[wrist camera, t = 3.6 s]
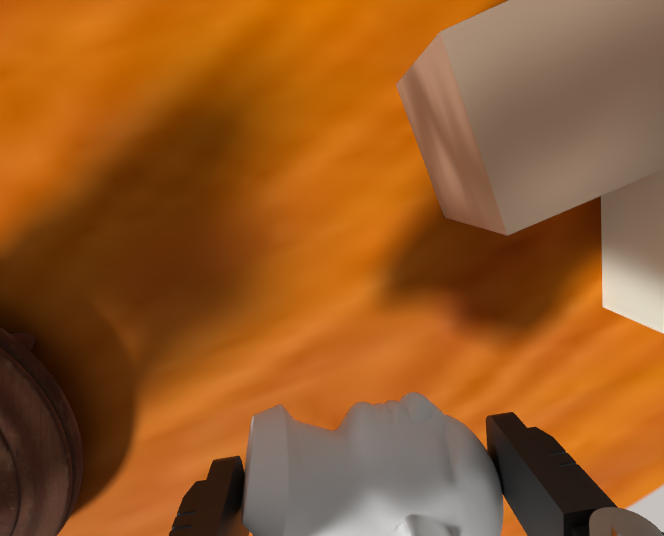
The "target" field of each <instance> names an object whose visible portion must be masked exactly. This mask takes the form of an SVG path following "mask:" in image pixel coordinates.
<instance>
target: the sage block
mask: <svg viewBox="0 0 664 536" xmlns="http://www.w3.org/2000/svg"><path fill="white" fill-rule="evenodd" d="M601 235H602V289H603V307H604V308H606V309H608V310H611V311H613V312H615V313H618V314H620V315H622V316H624V317H627V318H629V319H631V320H634V321H636V322H638V323H640V324H643V325H645V326H647V327H650V328H652V329H654V330H656V331H659V332H661V333H663V334H664V169H663V170H660V171H658V172H656V173H653V174H651V175H649V176H646V177H644V178H642V179H639V180H637V181H635V182H632V183H630V184H628V185H625V186H623V187H621V188H618V189H616V190H614V191H611V192H609V193H606V194H604V195H602V196H601Z"/></svg>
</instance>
